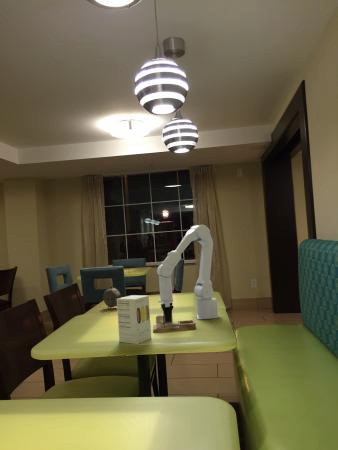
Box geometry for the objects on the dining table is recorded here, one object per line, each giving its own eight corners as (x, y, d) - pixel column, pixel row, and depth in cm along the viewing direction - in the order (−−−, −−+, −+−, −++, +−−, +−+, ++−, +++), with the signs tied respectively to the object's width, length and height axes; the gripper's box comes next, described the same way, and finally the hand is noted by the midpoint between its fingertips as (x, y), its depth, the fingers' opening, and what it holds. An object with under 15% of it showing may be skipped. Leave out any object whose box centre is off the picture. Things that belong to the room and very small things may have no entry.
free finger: (163, 322, 167) (163, 312, 168) (172, 322, 168) (171, 311, 168) (164, 324, 164) (163, 313, 164) (172, 323, 164) (172, 312, 164)
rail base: (193, 324, 160) (192, 310, 160) (196, 328, 152) (194, 314, 152) (153, 328, 159) (152, 313, 159) (153, 332, 151) (152, 317, 151)
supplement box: (137, 344, 135) (134, 299, 136) (118, 342, 140) (115, 298, 140) (152, 337, 143) (149, 295, 144) (133, 336, 148) (130, 294, 149)
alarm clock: (122, 308, 214) (120, 280, 214) (116, 310, 209) (114, 281, 210) (108, 307, 219) (106, 280, 220) (102, 309, 215) (100, 281, 216)
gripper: (157, 289, 174) (159, 317, 173) (157, 293, 159) (159, 324, 159) (171, 287, 174) (173, 316, 173) (173, 292, 160) (175, 322, 159)
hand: (168, 320), depth 166 cm, fingers open, 5 cm apart
